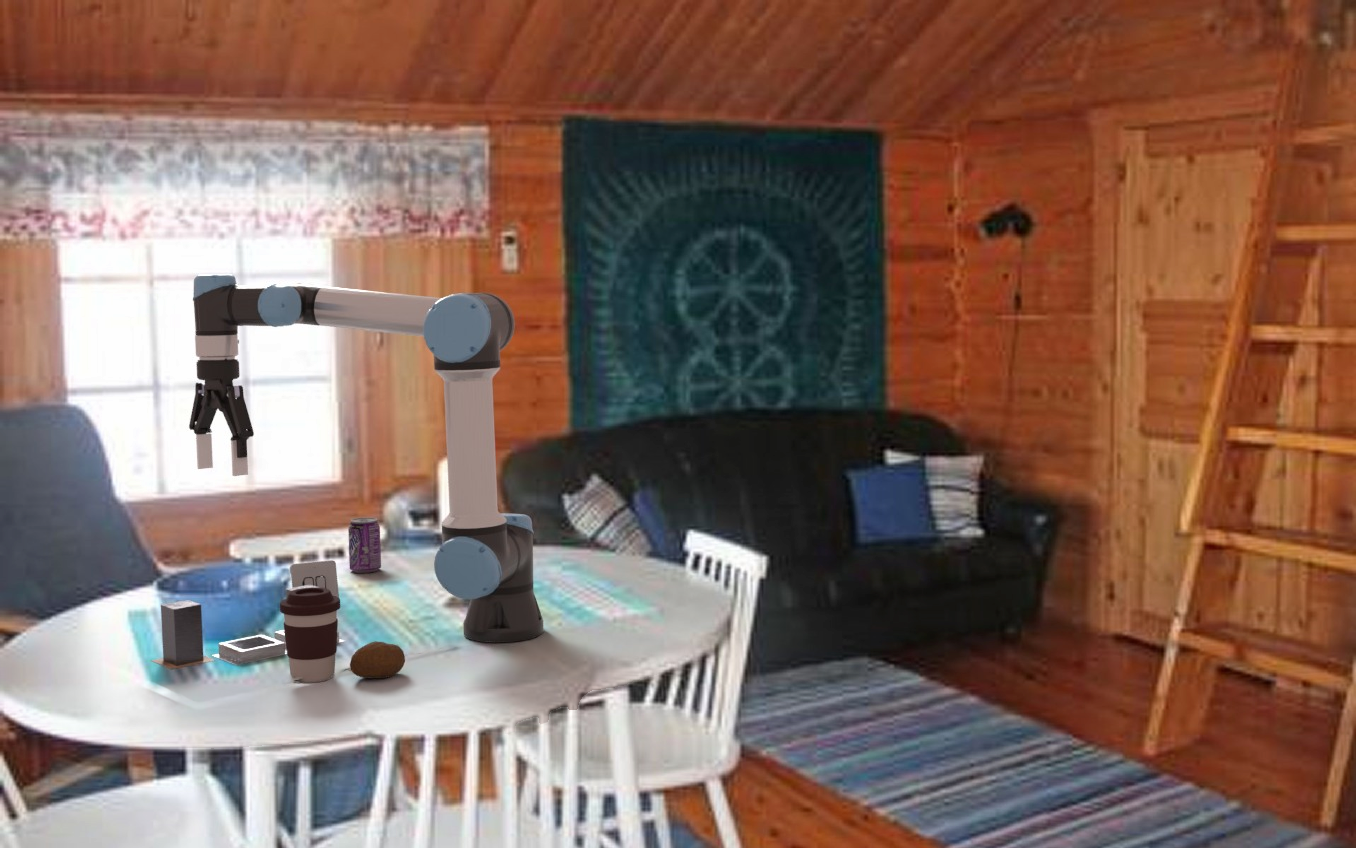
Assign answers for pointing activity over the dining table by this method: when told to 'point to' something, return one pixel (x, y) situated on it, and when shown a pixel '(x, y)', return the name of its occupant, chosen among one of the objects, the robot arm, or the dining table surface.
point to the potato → (377, 660)
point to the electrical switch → (315, 575)
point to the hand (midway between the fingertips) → (222, 471)
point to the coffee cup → (311, 633)
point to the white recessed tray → (254, 648)
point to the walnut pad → (171, 666)
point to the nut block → (182, 632)
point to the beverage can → (364, 545)
